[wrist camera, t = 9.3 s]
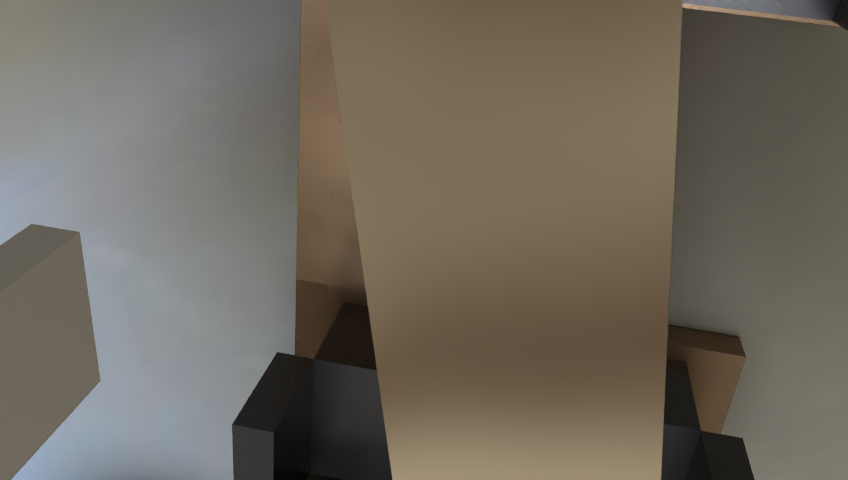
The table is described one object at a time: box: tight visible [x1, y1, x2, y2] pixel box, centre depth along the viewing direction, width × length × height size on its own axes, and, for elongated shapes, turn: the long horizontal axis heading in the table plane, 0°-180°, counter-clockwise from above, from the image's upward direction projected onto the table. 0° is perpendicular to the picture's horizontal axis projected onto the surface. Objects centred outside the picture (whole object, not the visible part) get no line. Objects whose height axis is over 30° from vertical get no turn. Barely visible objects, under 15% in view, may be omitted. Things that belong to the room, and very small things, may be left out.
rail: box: [325, 0, 683, 480], centre depth 15 cm, size 16×5×5 cm, turn 6°
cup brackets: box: [232, 0, 848, 480], centre depth 18 cm, size 22×13×7 cm, turn 175°
